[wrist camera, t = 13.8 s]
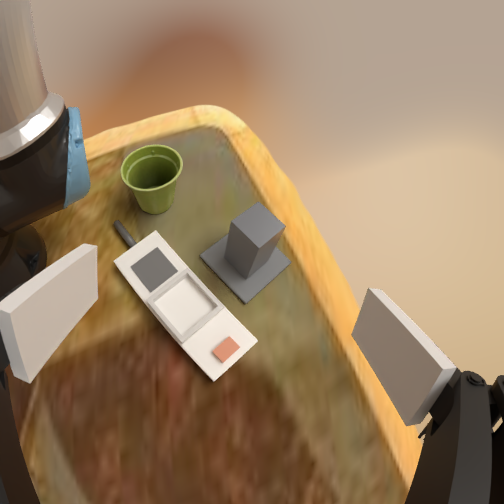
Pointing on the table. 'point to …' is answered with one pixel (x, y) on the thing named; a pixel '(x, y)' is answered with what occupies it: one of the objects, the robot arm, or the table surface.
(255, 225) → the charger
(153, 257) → the white slab
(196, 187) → the table surface
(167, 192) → the plant pot
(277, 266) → the pad
